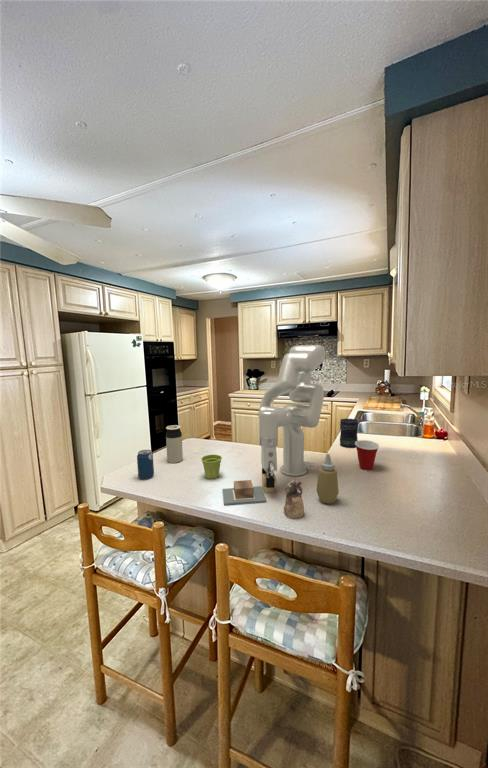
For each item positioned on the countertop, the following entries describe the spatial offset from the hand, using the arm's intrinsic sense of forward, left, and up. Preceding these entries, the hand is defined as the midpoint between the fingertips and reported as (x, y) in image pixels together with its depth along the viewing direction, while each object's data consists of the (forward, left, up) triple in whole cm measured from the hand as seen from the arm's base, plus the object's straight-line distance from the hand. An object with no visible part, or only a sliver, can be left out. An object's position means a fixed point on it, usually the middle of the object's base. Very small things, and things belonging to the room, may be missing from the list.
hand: (267, 482), depth 125 cm
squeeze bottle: (-21, +11, -4) cm, 24 cm away
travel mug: (+41, -41, -4) cm, 58 cm away
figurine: (-6, +18, -4) cm, 20 cm away
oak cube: (-1, -1, -4) cm, 4 cm away
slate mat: (+10, +3, -4) cm, 11 cm away
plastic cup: (-51, -16, -4) cm, 53 cm away
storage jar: (-57, -49, -4) cm, 75 cm away
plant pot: (+22, -18, -4) cm, 29 cm away
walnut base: (+10, +3, -3) cm, 11 cm away
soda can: (+52, -22, -4) cm, 57 cm away
